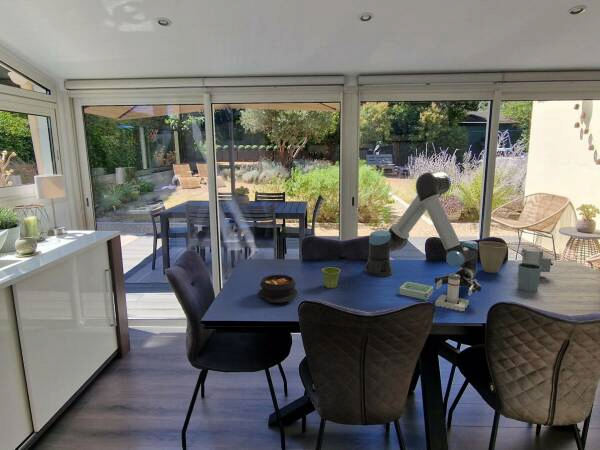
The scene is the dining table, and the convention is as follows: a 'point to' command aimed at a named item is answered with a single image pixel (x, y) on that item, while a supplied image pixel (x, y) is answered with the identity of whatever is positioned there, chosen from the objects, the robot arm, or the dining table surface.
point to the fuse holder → (461, 306)
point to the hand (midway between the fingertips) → (453, 289)
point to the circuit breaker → (536, 258)
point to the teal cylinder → (528, 276)
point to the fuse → (453, 288)
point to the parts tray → (416, 290)
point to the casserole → (278, 288)
